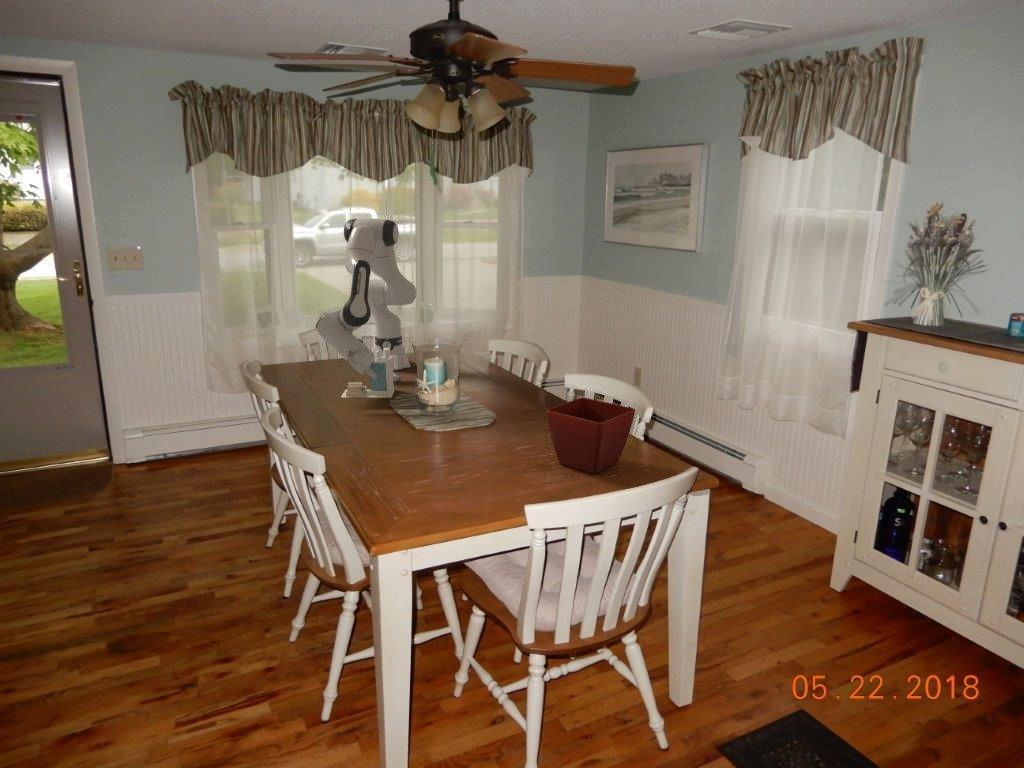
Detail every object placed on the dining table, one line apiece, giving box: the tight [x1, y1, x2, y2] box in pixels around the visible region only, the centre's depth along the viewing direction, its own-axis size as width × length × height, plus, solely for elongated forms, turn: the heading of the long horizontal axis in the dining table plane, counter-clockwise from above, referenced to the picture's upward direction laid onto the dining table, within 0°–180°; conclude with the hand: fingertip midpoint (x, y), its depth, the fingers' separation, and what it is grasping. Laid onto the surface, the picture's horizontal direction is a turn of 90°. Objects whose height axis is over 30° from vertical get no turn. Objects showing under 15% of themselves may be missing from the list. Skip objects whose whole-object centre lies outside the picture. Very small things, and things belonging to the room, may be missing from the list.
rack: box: [340, 356, 395, 399], centre depth 272 cm, size 11×19×15 cm, turn 92°
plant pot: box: [546, 397, 636, 475], centre depth 209 cm, size 19×19×17 cm
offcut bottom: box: [345, 385, 368, 396], centre depth 273 cm, size 8×6×2 cm
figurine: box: [375, 348, 400, 383], centre depth 291 cm, size 7×9×15 cm
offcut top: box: [347, 381, 363, 392], centre depth 272 cm, size 6×5×2 cm
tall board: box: [369, 362, 387, 391], centre depth 272 cm, size 2×6×12 cm, turn 92°
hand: (378, 374), depth 272 cm, fingers open, 8 cm apart
